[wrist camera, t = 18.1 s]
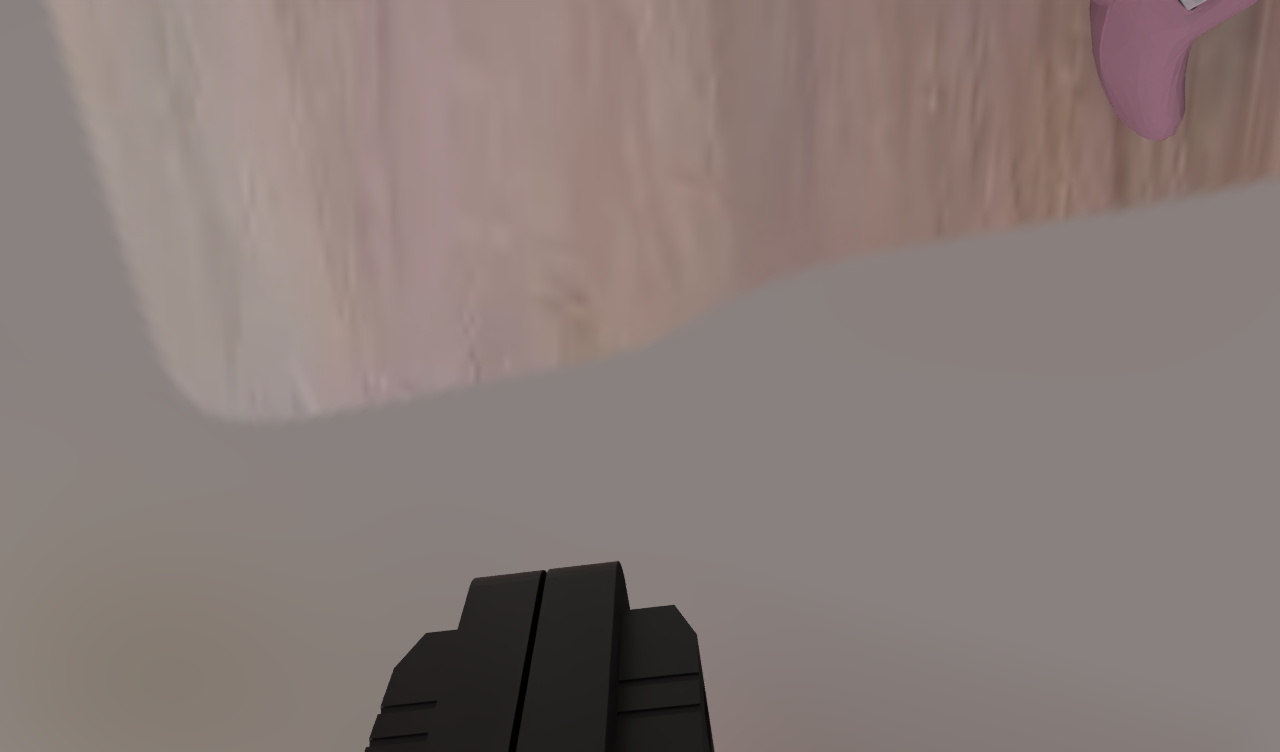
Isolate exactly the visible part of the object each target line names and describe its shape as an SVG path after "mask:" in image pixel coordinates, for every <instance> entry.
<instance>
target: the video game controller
mask: <svg viewBox="0 0 1280 752" xmlns="http://www.w3.org/2000/svg"><path fill="white" fill-rule="evenodd" d="M1257 1H1259V0H1090V22H1091V34H1092V46H1093V54H1094V58H1095V63H1096V68H1097V73H1098V76H1099V79H1100V81H1101V84H1102V86H1103V89H1104V92H1105V94H1106V97H1107V98H1108V100H1109V102H1110V103H1111V105H1112V107H1113V108H1114V110H1115V112H1116V114H1117V116H1118V117H1119V118H1120V119H1121V121H1123V122H1124V123H1125V124H1126V125H1127V126H1128V127H1129V128H1130V129H1132V130H1133V131H1135V132H1136V133H1137V134H1139V135H1140V136H1142V137H1144V138H1147V139H1150V140H1157V141H1161V140H1164V139H1166V138H1168V137H1171V136H1173V135H1174V134H1175V132H1176V130H1177V128H1178V127H1179V125H1180V123H1181V121H1182V119H1183V115H1184V112H1185V72H1186V67H1187V61H1188V55H1189V50H1190V48H1191V45H1192V43H1193V42H1194V40H1195V39H1196V38H1197V37H1199V36H1200V35H1202V34H1203V33H1205V32H1206V31H1208V30H1210V29H1212V28H1213V27H1215V26H1217V25H1218V24H1220V23H1222V22H1224V21H1225V20H1227V19H1229V18H1231V17H1232V16H1234V15H1236V14H1238V13H1239V12H1241V11H1243V10H1244V9H1246V8H1248V7H1250V6H1251V5H1253V4H1254V3H1256V2H1257Z"/></svg>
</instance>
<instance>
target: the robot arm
mask: <svg viewBox="0 0 1280 752" xmlns="http://www.w3.org/2000/svg"><path fill="white" fill-rule="evenodd" d="M369 741H370V746H369V747H366V749H365V752H714V745H713V739H712V732H711V726H710V719H709V712H708V706H707V700H706V692H705V686H704V680H703V673H702V666H701V660H700V653H699V646H698V639H697V634H696V633H695V632H694V630H693V629H692V628H691V626H690V625H689V624H688V623H687V621H686V620H685V618H684V617H683V616H682V614H681V613H680V612H679V610H678V609H677V608H676V607H675V605H669V606H659V607H651V608H642V609H633V610H630V606H629V600H628V594H627V589H626V583H625V578H624V574H623V570H622V566H621V564H620V562H619V561H617V562H607V563H599V564H590V565H581V566H573V567H564V568H555V569H549V570H548V572H546V571H545V570H540V571H532V572H523V573H516V574H506V575H497V576H489V577H480V578H475V579H473V581H472V582H471V585H470V588H469V592H468V595H467V598H466V602H465V605H464V609H463V612H462V616H461V619H460V623H459V627H458V630H449V631H441V632H432V633H426V634H425V635H424V636H423V637H422V638H421V639H420V640H419V641H418V642H417V644H416V645H415V646H414V647H413V648H412V649H411V650H410V651H409V653H408V654H407V655H406V656H405V657H404V658H403V659H402V660H401V661H400V662H399V663H398V665H397V666H396V667H395V668H394V670H393V673H392V676H391V679H390V682H389V684H388V687H387V690H386V693H385V695H384V698H383V701H382V704H381V714H378V715H377V718H376V721H375V724H374V726H373V729H372V733H371V735H370V738H369Z"/></svg>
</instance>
